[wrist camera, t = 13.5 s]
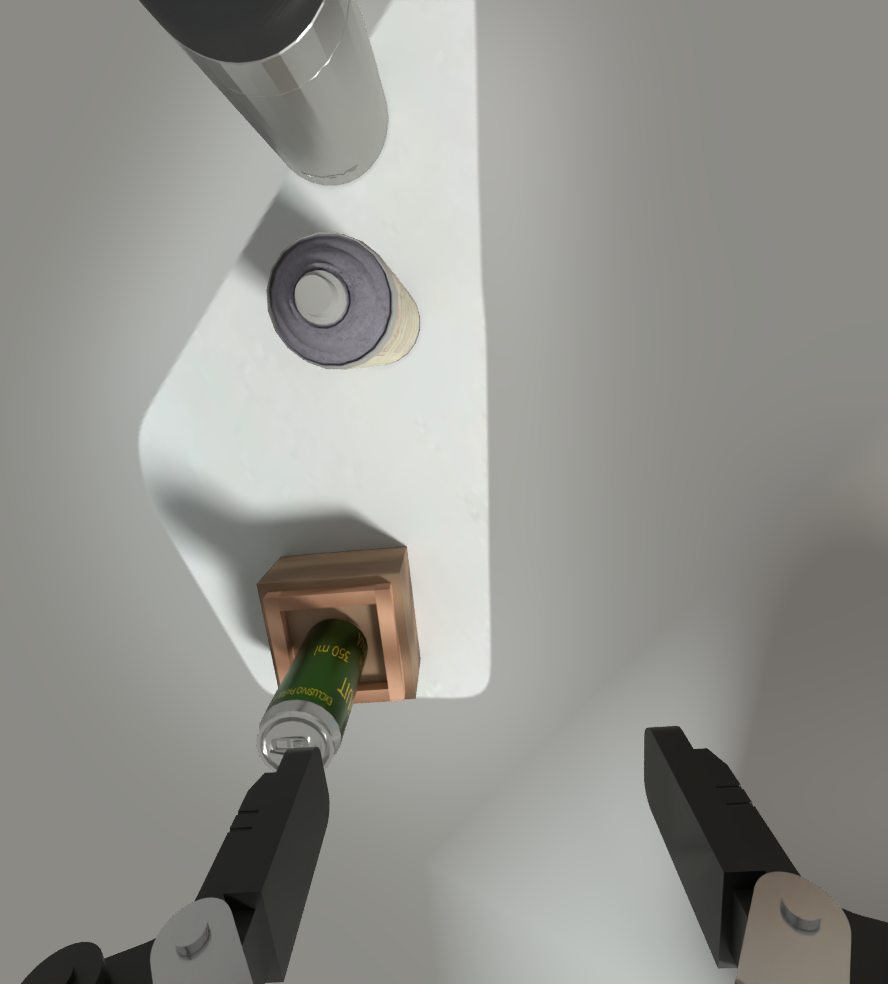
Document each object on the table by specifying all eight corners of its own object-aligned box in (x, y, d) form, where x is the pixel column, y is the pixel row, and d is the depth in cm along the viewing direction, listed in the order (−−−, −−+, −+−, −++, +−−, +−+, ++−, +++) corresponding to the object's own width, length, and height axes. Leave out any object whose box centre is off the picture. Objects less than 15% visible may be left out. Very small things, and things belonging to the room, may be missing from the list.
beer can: (309, 669, 44) (256, 780, 33) (305, 613, 43) (248, 709, 31) (370, 670, 44) (339, 782, 33) (368, 614, 43) (335, 711, 31)
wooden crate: (281, 556, 48) (251, 590, 41) (406, 546, 47) (397, 579, 41) (302, 667, 51) (277, 716, 44) (420, 659, 51) (414, 707, 44)
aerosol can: (344, 271, 41) (244, 197, 22) (426, 287, 42) (399, 227, 22) (333, 356, 43) (233, 357, 24) (412, 371, 43) (376, 384, 24)
